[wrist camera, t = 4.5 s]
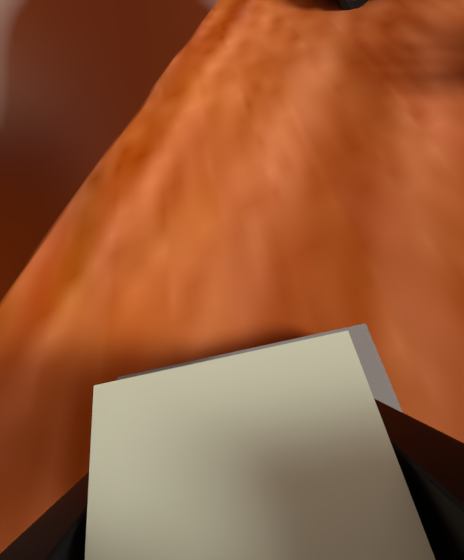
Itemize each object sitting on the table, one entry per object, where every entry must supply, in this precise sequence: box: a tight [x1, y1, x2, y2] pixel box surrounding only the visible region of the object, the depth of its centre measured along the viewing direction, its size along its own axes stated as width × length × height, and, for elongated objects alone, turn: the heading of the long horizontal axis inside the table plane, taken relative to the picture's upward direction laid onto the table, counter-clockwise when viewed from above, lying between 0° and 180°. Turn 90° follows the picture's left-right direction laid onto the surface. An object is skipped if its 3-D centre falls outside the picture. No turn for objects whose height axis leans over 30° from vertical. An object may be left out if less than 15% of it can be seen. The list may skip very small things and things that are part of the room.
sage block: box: [85, 331, 435, 560], centre depth 9 cm, size 5×5×9 cm
